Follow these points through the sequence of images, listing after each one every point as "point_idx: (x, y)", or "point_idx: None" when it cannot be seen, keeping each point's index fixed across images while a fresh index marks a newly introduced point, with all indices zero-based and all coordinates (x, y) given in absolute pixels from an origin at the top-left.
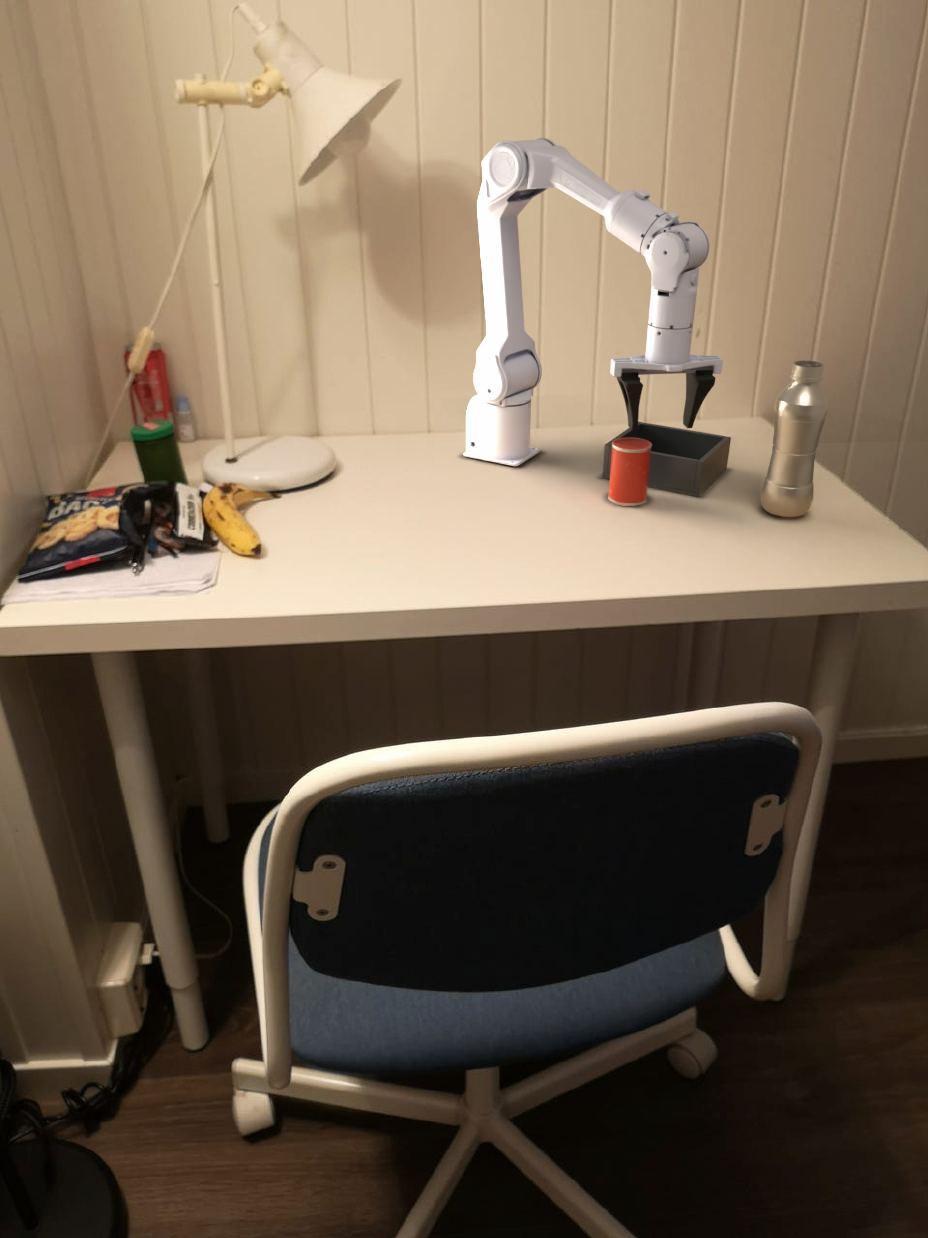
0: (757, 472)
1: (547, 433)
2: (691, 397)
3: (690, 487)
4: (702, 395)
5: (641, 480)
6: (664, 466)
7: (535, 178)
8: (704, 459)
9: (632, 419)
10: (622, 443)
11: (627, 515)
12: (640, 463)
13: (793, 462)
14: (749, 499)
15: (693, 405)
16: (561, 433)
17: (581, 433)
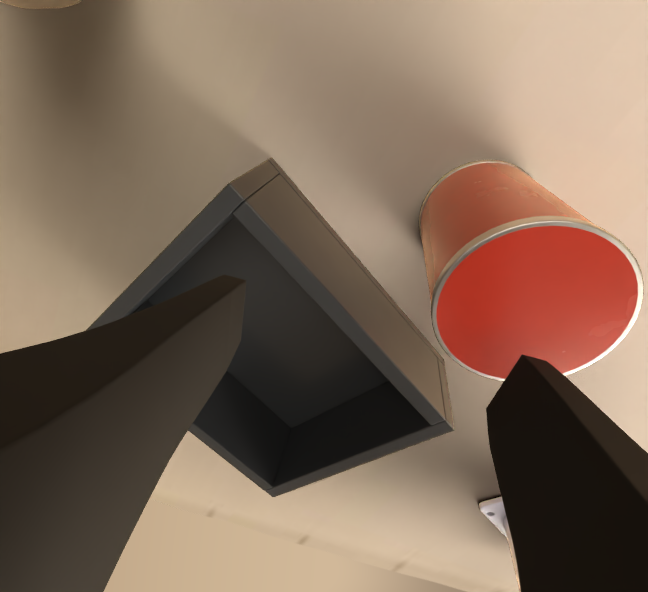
0: (70, 254)
1: (401, 545)
2: (143, 414)
3: (284, 185)
4: (35, 362)
5: (495, 181)
6: (333, 272)
7: None
8: (212, 208)
9: (591, 404)
10: (570, 329)
11: (575, 90)
12: (531, 198)
13: None
14: (134, 87)
15: (165, 336)
16: (377, 536)
17: (342, 524)
